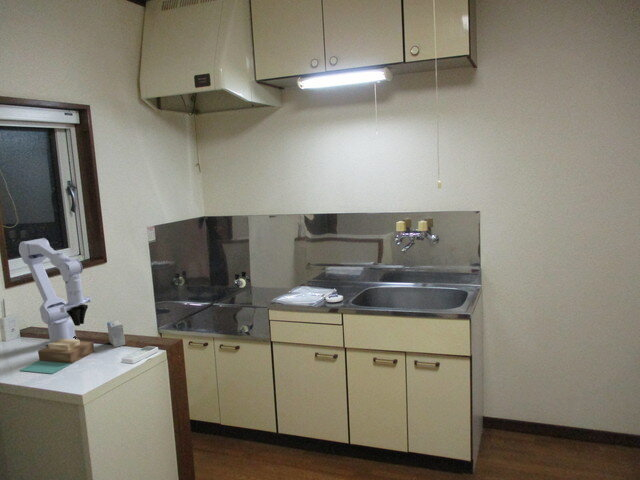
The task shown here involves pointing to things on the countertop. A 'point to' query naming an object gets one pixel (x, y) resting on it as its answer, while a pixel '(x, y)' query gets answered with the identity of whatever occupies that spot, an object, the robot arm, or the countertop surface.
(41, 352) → the block
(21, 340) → the countertop surface
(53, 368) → the mat
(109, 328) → the medicine box
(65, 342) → the cream rectangular block
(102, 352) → the countertop surface
